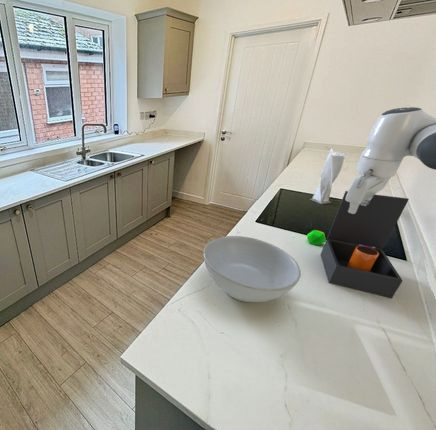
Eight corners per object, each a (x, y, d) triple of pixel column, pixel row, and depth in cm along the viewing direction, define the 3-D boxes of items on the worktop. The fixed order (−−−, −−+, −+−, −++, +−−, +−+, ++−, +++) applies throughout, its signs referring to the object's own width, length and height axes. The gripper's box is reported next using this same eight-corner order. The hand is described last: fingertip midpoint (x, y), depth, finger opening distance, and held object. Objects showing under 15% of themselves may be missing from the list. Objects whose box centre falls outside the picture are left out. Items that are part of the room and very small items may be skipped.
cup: (361, 274, 89) (375, 248, 84) (366, 285, 85) (381, 257, 80) (341, 270, 91) (353, 243, 86) (345, 280, 87) (358, 252, 82)
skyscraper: (307, 198, 147) (324, 148, 135) (318, 196, 149) (336, 147, 137) (321, 204, 140) (340, 152, 127) (332, 202, 142) (353, 151, 129)
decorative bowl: (203, 257, 101) (207, 230, 96) (282, 272, 92) (292, 244, 87) (194, 306, 79) (199, 275, 74) (296, 333, 70) (311, 300, 65)
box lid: (409, 199, 81) (407, 198, 82) (346, 191, 88) (345, 190, 89) (383, 248, 89) (382, 247, 90) (327, 238, 96) (326, 237, 97)
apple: (317, 231, 102) (326, 223, 107) (300, 235, 108) (309, 228, 112) (326, 247, 101) (335, 239, 106) (309, 250, 107) (318, 243, 111)
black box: (390, 300, 80) (402, 280, 76) (327, 284, 86) (336, 266, 83) (372, 267, 94) (382, 249, 90) (319, 256, 100) (326, 239, 97)
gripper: (377, 176, 70) (357, 221, 76) (402, 163, 79) (381, 204, 86) (349, 170, 75) (331, 213, 81) (375, 158, 84) (358, 198, 91)
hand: (357, 208), depth 83 cm, fingers open, 8 cm apart
